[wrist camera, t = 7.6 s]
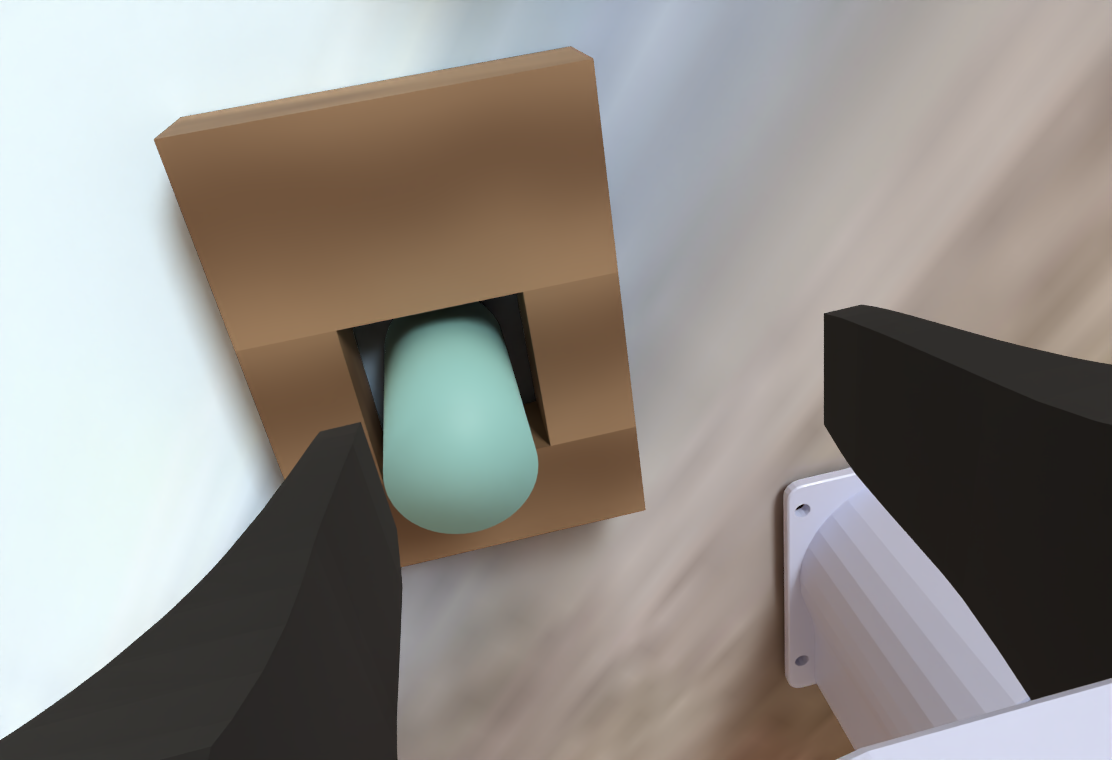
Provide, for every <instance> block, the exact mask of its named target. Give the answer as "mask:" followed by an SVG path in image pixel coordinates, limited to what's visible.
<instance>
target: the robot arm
mask: <svg viewBox="0 0 1112 760" xmlns="http://www.w3.org/2000/svg"><path fill="white" fill-rule="evenodd" d="M824 425H825V427H826V429H827V430H828V432H829V434H830V435H831V437H832V438H833V440H834V442H835V443H836V445H837V447H838V448H839V450H840V452H841V453H842V455H843V456H844V458H845V459H846V461H847V462H848V464H849V465H850V467H851V468H846V469H842V470H838V471H834V472H829V473H825V474H821V475H816V476H812V477H808V478H804V479H799V480H796V481H794V482H792V483H791V484H789V485H788V486H787V488H786V489H785V491H784V495H783V509H784V613H785V677H786V679H787V681H788V683H789V685H790V686H792V687H794V688H802V687H806V686H810V685H814V684H817V685H818V687H819V689H820V690H821V692H822V694H823V696H824V697H825V699H826V701H827V703H828V704H829V706H830V708H831V709H832V711H833V713H834V715H835V716H836V718H837V720H838V722H839V723H840V725H841V727H842V728H843V730H844V732H845V734H846V735H847V737H848V739H849V741H850V742H851V744H852V746H853V747H854V749H855V751H853V752H851V753H849V754H847V755H845V756H842V757H840V758H838V759H836V760H1112V365H1111V364H1105V363H1099V362H1093V361H1088V360H1082V359H1077V358H1072V357H1068V356H1063V355H1059V354H1054V353H1050V352H1046V351H1041V350H1037V349H1033V348H1028V347H1024V346H1020V345H1016V344H1012V343H1008V342H1004V341H1000V340H997V339H993V338H989V337H985V336H982V335H978V334H974V333H971V332H967V331H964V330H960V329H957V328H953V327H950V326H946V325H943V324H939V323H936V322H932V321H928V320H925V319H921V318H918V317H914V316H911V315H907V314H903V313H899V312H895V311H892V310H887V309H883V308H878V307H873V306H867V305H858V306H854V307H850V308H845V309H841V310H837V311H832V312H828V313H824ZM802 504H804V506H803V507H802V508H800V509H798V510H796V508H797V507H798V506H800V505H802ZM401 610H402V577H401V565H400V554H399V544H398V535H397V528H396V525H395V522H394V519H393V516H392V513H391V510H390V507H389V504H388V501H387V498H386V495H385V492H384V489H383V486H382V483H381V480H380V477H379V474H378V471H377V468H376V465H375V462H374V459H373V456H372V453H371V450H370V447H369V445H368V442H367V439H366V436H365V433H364V430H363V427H362V424H361V422H358V423H354V424H350V425H345V426H341V427H337V428H333V429H328V430H324V431H320V432H319V433H318V435H317V436H316V437H315V438H314V440H313V441H312V442H311V444H310V445H309V447H308V448H307V449H306V451H305V452H304V454H303V455H302V456H301V458H300V459H299V461H298V462H297V464H296V465H295V466H294V468H293V469H292V471H291V472H290V473H289V475H288V476H287V478H286V479H285V480H284V482H283V483H282V484H281V486H280V487H279V488H278V490H277V491H276V492H275V494H274V495H273V496H272V498H271V499H270V501H269V502H268V503H267V505H266V506H265V507H264V509H263V510H262V511H261V512H260V514H259V515H258V516H257V517H256V518H255V520H254V521H253V522H252V523H251V524H250V526H249V527H248V528H247V529H246V530H245V532H244V533H243V534H242V535H241V536H240V538H239V539H238V540H237V541H236V542H235V544H234V545H233V546H232V547H231V548H230V550H229V551H228V552H227V553H226V554H225V556H224V557H223V558H222V559H221V560H220V561H219V562H218V563H217V564H216V565H215V567H214V568H213V569H212V570H211V571H210V572H209V573H208V574H207V575H206V576H205V577H204V578H203V579H202V580H201V581H200V582H199V583H198V584H197V585H196V586H195V587H194V588H193V589H192V590H191V591H190V592H189V593H188V594H187V595H186V596H185V597H184V598H183V599H182V600H181V601H180V602H179V603H178V604H177V605H176V606H175V607H174V608H173V609H171V610H170V611H169V612H168V613H167V614H166V615H165V616H164V617H163V618H162V619H160V620H159V621H158V622H157V623H156V624H154V625H153V626H152V627H151V628H150V629H149V630H147V631H146V632H145V633H144V634H143V635H141V636H140V637H139V638H138V639H137V640H136V641H134V642H133V643H132V644H131V645H130V646H128V647H127V648H126V649H125V650H124V651H123V652H121V653H120V654H119V655H118V656H117V657H115V658H114V659H113V660H112V661H111V662H110V663H108V664H107V665H106V666H104V667H103V668H102V669H101V670H99V671H98V672H97V673H95V674H94V675H93V676H91V677H90V678H89V679H87V680H86V681H85V682H83V683H82V684H81V685H79V686H78V687H77V688H75V689H74V690H73V691H71V692H70V693H69V694H67V695H66V696H64V697H63V698H62V699H60V700H59V701H57V702H56V703H54V704H53V705H52V706H50V707H49V708H47V709H46V710H45V711H43V712H42V713H40V714H39V715H37V716H36V717H35V718H33V719H32V720H30V721H29V722H27V723H26V724H24V725H23V726H21V727H20V728H18V729H17V730H15V731H14V732H12V733H11V734H9V735H8V736H6V737H4V738H3V739H1V740H0V760H397V701H398V679H399V657H400V636H401Z"/></svg>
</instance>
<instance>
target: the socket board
mask: <svg viewBox="0 0 1112 760" xmlns="http://www.w3.org/2000/svg"><path fill="white" fill-rule="evenodd" d="M154 141H155V144H156V147H157V149H158V152H159V154H160V157H161V160H162V162H163V165H164V167H165V170H166V173H167V175H168V178H169V180H170V183H171V186H172V188H173V191H174V193H175V196H176V199H177V201H178V204H179V206H180V209H181V212H182V214H183V217H184V220H185V222H186V225H187V227H188V230H189V233H190V235H191V238H192V240H193V243H194V246H195V248H196V251H197V253H198V256H199V259H200V261H201V264H202V266H203V269H204V272H205V274H206V277H207V279H208V282H209V285H210V287H211V290H212V292H213V295H214V298H215V300H216V303H217V305H218V308H219V311H220V313H221V316H222V319H223V321H224V324H225V326H226V329H227V332H228V334H229V337H230V339H231V342H232V345H233V347H234V350H235V352H236V355H237V358H238V360H239V363H240V365H241V368H242V371H243V373H244V376H245V378H246V381H247V384H248V386H249V389H250V391H251V394H252V397H253V399H254V402H255V404H256V407H257V410H258V412H259V415H260V418H261V420H262V423H263V425H264V428H265V431H266V433H267V436H268V438H269V441H270V444H271V446H272V449H273V451H274V454H275V457H276V459H277V462H278V464H279V467H280V470H281V472H282V475H283V477H284V480H285V479H286V478H287V476H288V475H289V473H290V472H291V471H292V469H293V468H294V466H295V465H296V464H297V462H298V461H299V459H300V458H301V456H302V455H303V454H304V452H305V451H306V449H307V448H308V447H309V445H310V444H311V442H312V441H313V440H314V438H315V437H316V436H317V435H318V433H319V432H320V431H324V430H328V429H333V428H337V427H341V426H345V425H350V424H354V423H358V422H361V424H362V427H363V430H364V433H365V436H366V439H367V442H368V445H369V447H370V450H371V453H372V456H373V459H374V462H375V465H376V468H377V471H378V474H379V477H380V480H381V483H382V486H383V489H384V492H385V495H386V498H387V501H388V504H389V507H390V510H391V513H392V516H393V519H394V522H395V525H396V528H397V535H398V544H399V554H400V565H401V567H404V566H409V565H413V564H417V563H421V562H426V561H430V560H434V559H438V558H443V557H447V556H451V555H456V554H460V553H464V552H468V551H473V550H477V549H481V548H485V547H490V546H494V545H498V544H503V543H507V542H511V541H515V540H520V539H524V538H528V537H532V536H537V535H541V534H545V533H550V532H554V531H558V530H562V529H567V528H571V527H575V526H579V525H584V524H588V523H592V522H597V521H601V520H605V519H609V518H614V517H618V516H622V515H626V514H631V513H635V512H639V511H644V510H645V502H644V493H643V484H642V476H641V467H640V458H639V450H638V441H637V433H636V424H635V415H634V407H633V398H632V389H631V381H630V372H629V363H628V355H627V346H626V337H625V329H624V320H623V311H622V303H621V294H620V285H619V277H618V268H617V260H616V251H615V242H614V234H613V225H612V216H611V208H610V199H609V190H608V182H607V173H606V164H605V156H604V147H603V138H602V130H601V121H600V112H599V104H598V95H597V86H596V78H595V69H594V61H593V58H591V57H589V56H588V55H586V54H584V53H582V52H580V51H578V50H577V49H575V48H573V47H571V46H570V47H565V48H559V49H554V50H548V51H543V52H537V53H532V54H526V55H521V56H515V57H510V58H504V59H499V60H493V61H488V62H482V63H477V64H471V65H466V66H460V67H455V68H449V69H444V70H438V71H433V72H427V73H422V74H416V75H411V76H405V77H400V78H394V79H389V80H383V81H378V82H372V83H367V84H361V85H356V86H350V87H345V88H339V89H334V90H328V91H323V92H317V93H312V94H306V95H301V96H295V97H290V98H284V99H279V100H273V101H268V102H262V103H257V104H251V105H246V106H240V107H235V108H229V109H223V110H218V111H212V112H207V113H201V114H196V115H190V116H185V117H180V118H179V119H178V120H177V121H176V122H174V123H173V124H172V125H171V126H169V127H168V128H167V129H166V130H165V131H163V132H162V133H161V134H160V135H158V136H157V137H156V138H155V139H154ZM515 293H517V299H518V304H519V310H520V315H521V321H522V326H523V331H524V337H525V342H526V348H527V353H528V359H529V364H530V369H531V375H532V380H533V386H534V391H535V397H536V401H535V402H531V403H526V404H523V407H524V410H525V414H526V417H527V420H528V424H529V427H530V431H531V434H532V438H533V441H534V445H535V448H536V452H537V456H538V474H537V479H536V482H535V485H534V488H533V490H532V492H531V494H530V495H529V497H528V498H527V500H526V501H525V503H524V504H523V505H522V506H521V507H520V508H519V509H518V510H517V511H516V512H515V513H514V514H513V515H511V516H510V517H508V518H507V519H506V520H504V521H502V522H501V523H499V524H497V525H495V526H492V527H490V528H487V529H484V530H481V531H477V532H472V533H466V534H446V533H439V532H434V531H431V530H427V529H425V528H422V527H420V526H418V525H416V524H414V523H412V522H411V521H409V520H408V519H406V518H405V517H404V516H403V515H402V514H401V513H400V512H399V511H398V510H397V509H396V508H395V507H394V505H393V504H392V502H391V501H390V499H389V497H388V495H387V492H386V490H385V486H384V481H383V430H382V426H381V423H380V419H379V416H378V413H377V409H376V406H375V403H374V399H373V396H372V393H371V389H370V386H369V383H368V379H367V376H366V373H365V369H364V366H363V363H362V359H361V356H360V353H359V349H358V346H357V343H356V339H355V336H354V333H353V329H352V327H356V326H361V325H366V324H370V323H375V322H380V321H385V320H390V319H395V318H399V317H404V316H409V315H414V314H419V313H424V312H428V311H433V310H438V309H443V308H448V307H452V306H457V305H462V304H467V303H472V302H477V301H481V300H486V299H491V298H496V297H501V296H506V295H510V294H515Z"/></svg>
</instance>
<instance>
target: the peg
mask: <svg viewBox="0 0 1112 760" xmlns="http://www.w3.org/2000/svg"><path fill="white" fill-rule="evenodd" d="M537 474H538V456H537V452H536V448H535V445H534V441H533V438H532V434H531V431H530V427H529V424H528V420H527V417H526V414H525V410H524V407H523V403H522V400H521V396H520V393H519V390H518V386H517V383H516V379H515V376H514V372H513V369H512V366H511V362H510V359H509V355H508V352H507V348H506V345H505V342H504V338H503V335H502V331H501V328H500V326H499V324H498V322H497V320H496V318H495V317H494V316H493V314H492V313H491V312H490V311H489V310H488V309H487V308H486V307H485V306H484V305H482V304H481V303H479V302H478V301H477V302H472V303H467V304H462V305H457V306H452V307H448V308H443V309H438V310H433V311H428V312H424V313H419V314H414V315H409V316H404V317H399V318H395V319H393V321H392V322H391V324H390V326H389V328H388V331H387V334H386V338H385V348H384V433H383V481H384V486H385V490H386V492H387V495H388V497H389V499H390V501H391V502H392V504H393V505H394V507H395V508H396V509H397V510H398V511H399V512H400V513H401V514H402V515H403V516H404V517H405V518H406V519H408V520H409V521H411V522H412V523H414V524H416V525H418V526H420V527H422V528H425V529H427V530H431V531H434V532H439V533H446V534H466V533H472V532H477V531H481V530H484V529H487V528H490V527H492V526H495V525H497V524H499V523H501V522H502V521H504V520H506V519H507V518H508V517H510V516H511V515H513V514H514V513H515V512H516V511H517V510H518V509H519V508H520V507H521V506H522V505H523V504H524V503H525V501H526V500H527V498H528V497H529V495H530V494H531V492H532V490H533V488H534V485H535V482H536V479H537Z"/></svg>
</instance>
